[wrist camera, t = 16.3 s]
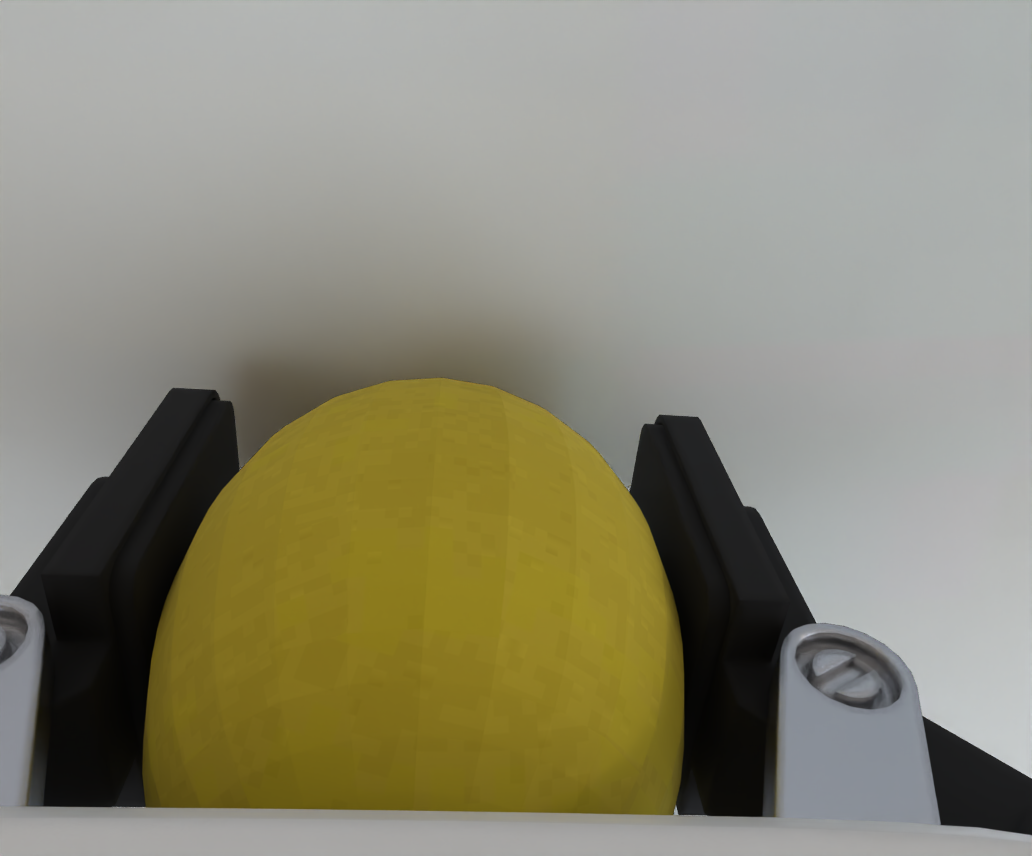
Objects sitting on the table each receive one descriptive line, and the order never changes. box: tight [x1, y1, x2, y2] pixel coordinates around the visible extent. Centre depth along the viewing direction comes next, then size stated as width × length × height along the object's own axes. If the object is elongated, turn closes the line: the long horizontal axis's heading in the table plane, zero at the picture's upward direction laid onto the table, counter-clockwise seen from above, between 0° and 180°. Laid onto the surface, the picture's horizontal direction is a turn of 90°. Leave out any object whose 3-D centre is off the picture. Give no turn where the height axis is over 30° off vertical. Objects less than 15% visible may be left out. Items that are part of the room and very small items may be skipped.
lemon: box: [142, 378, 684, 815], centre depth 9 cm, size 6×6×8 cm
